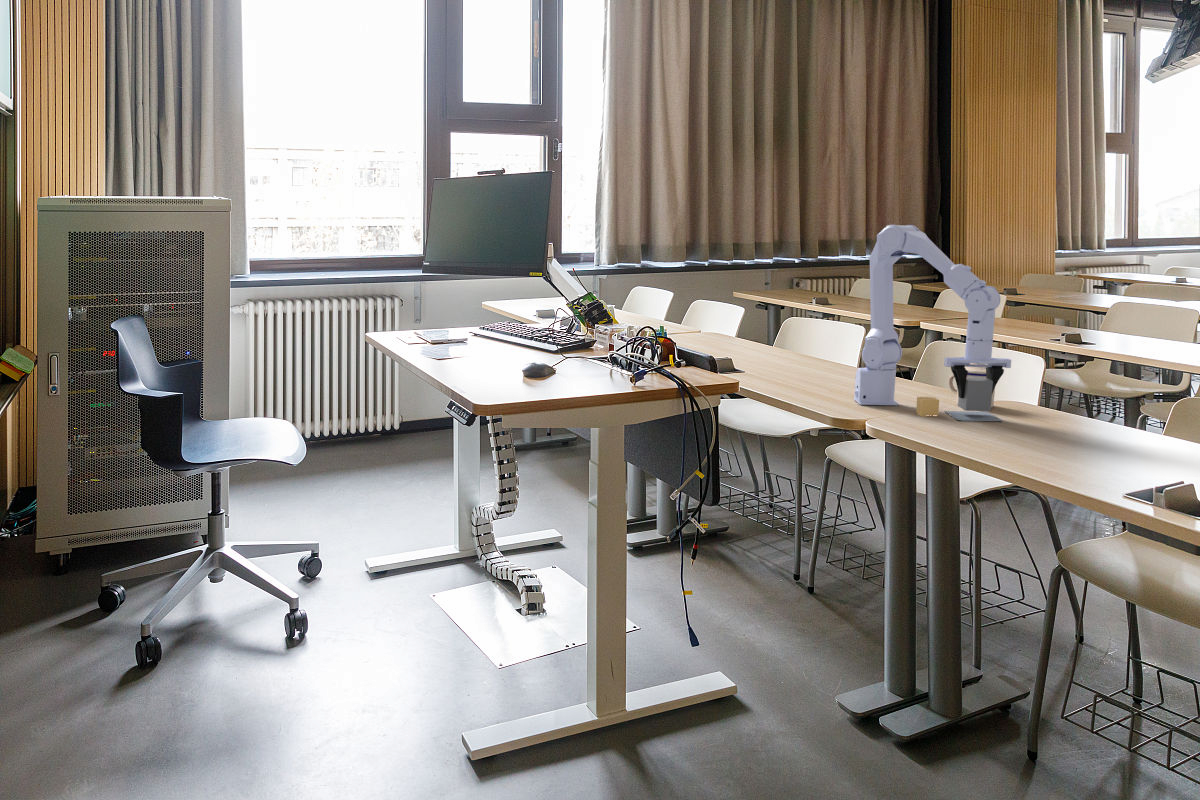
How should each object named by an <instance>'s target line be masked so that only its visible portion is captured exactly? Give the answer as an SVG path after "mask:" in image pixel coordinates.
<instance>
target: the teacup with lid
mask: <svg viewBox="0 0 1200 800" xmlns="http://www.w3.org/2000/svg"><path fill="white" fill-rule="evenodd" d="M970 364H973V363H970ZM979 365H987V364H979ZM965 368H966V370H967V371H968V373H967V377H985V378H986V368H987V367H965ZM954 379H955V377H954V375H953V374H951V375H950V376H949V378H948V388H949V390H950V391H951V392H952V393H954V394H956V403H955V404H956V406H958V398H959V397H958V388H957V387H956V388H955V387H954V385H953V382H954V381H953V380H954ZM995 392H996V387H995V388H994V391H993V394H992V399H991V407H992V408H993V407H994V404H995V395H996V394H995Z"/></svg>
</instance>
